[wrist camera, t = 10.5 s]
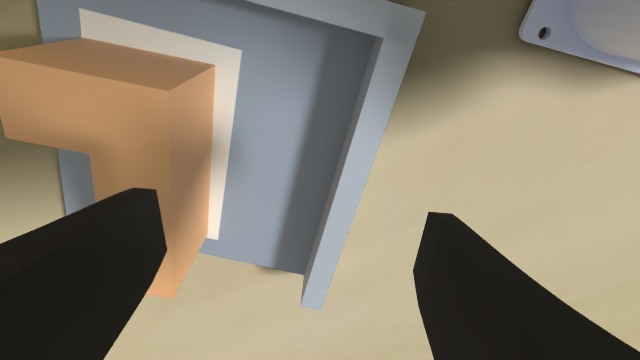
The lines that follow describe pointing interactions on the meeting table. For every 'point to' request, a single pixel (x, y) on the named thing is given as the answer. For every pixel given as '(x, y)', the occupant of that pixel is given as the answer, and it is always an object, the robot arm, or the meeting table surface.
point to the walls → (356, 118)
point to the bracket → (122, 128)
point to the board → (241, 111)
